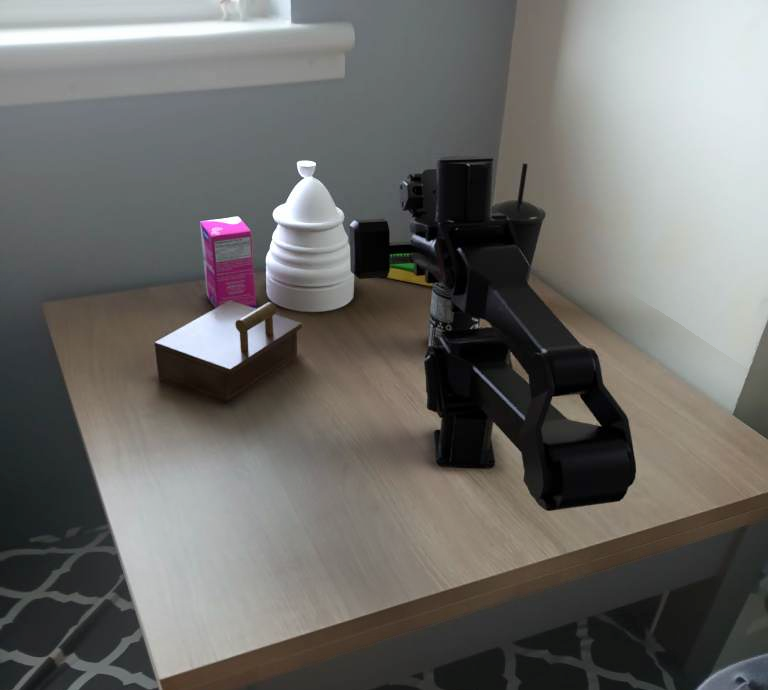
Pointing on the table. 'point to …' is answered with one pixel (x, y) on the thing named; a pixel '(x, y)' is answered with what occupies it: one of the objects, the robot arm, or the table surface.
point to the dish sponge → (406, 273)
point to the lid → (229, 336)
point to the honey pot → (309, 250)
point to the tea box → (220, 382)
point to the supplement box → (228, 261)
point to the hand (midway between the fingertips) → (409, 233)
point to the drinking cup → (523, 219)
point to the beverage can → (446, 315)
